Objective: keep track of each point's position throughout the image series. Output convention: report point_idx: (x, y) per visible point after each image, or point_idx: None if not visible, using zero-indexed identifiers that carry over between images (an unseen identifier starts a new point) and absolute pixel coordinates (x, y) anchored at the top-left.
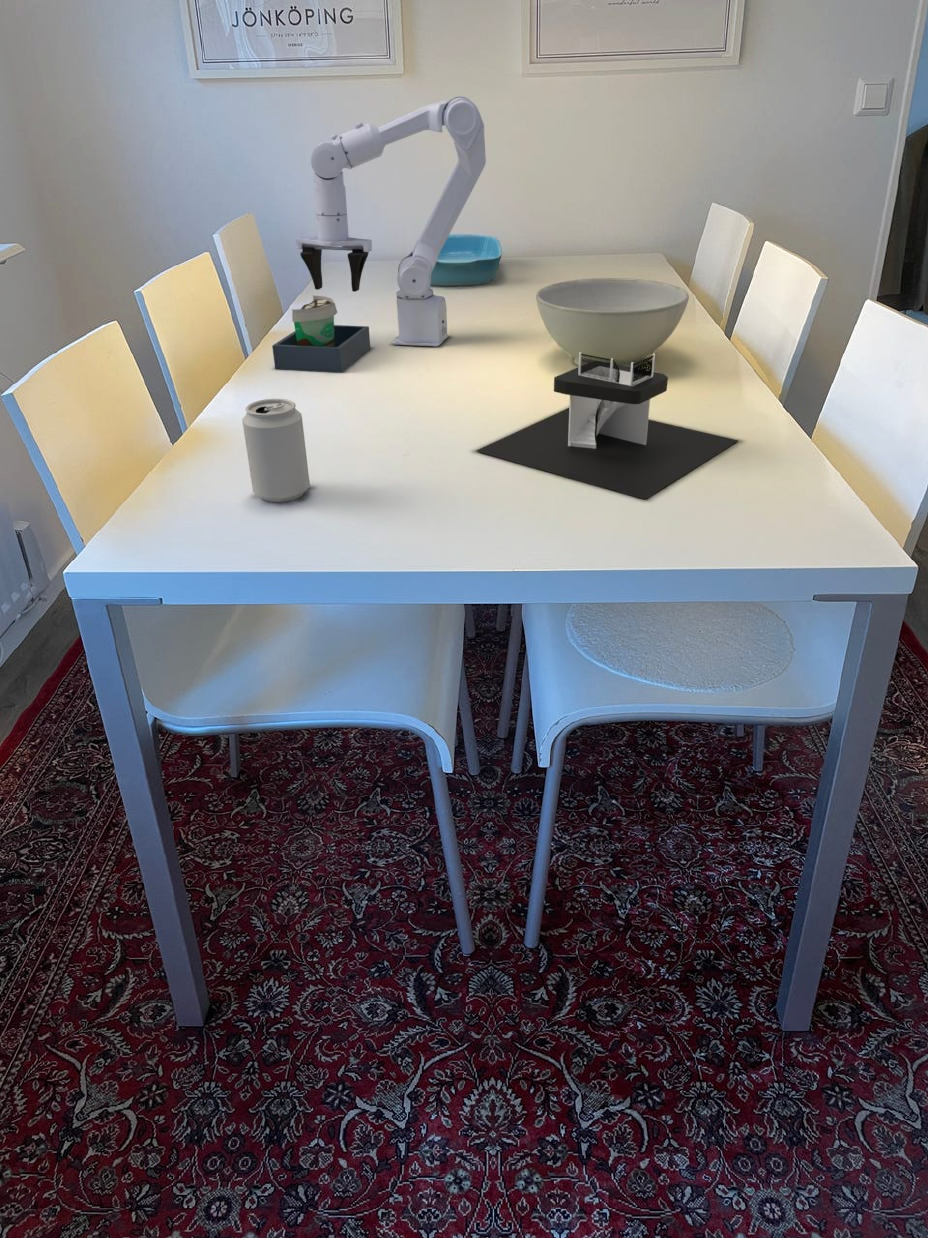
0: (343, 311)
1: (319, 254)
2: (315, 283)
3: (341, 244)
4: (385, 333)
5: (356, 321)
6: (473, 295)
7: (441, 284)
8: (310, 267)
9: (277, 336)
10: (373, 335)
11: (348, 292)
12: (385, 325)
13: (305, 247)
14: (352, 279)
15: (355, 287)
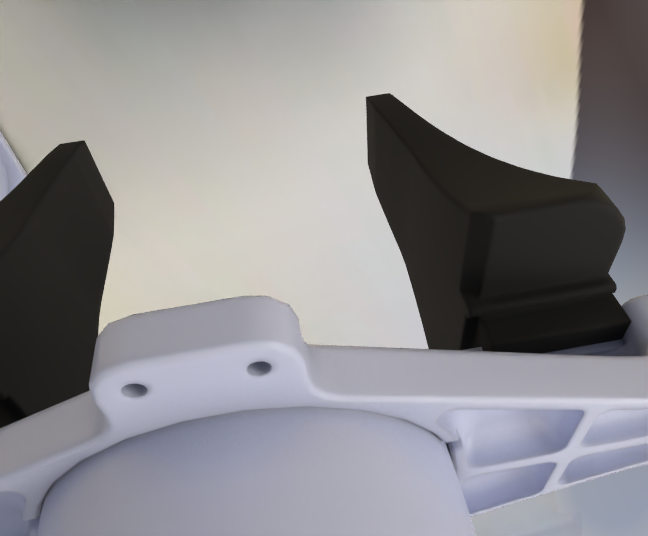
0: (423, 342)
1: (438, 346)
2: (392, 107)
3: (10, 432)
4: (141, 206)
5: (335, 284)
6: None
7: None
8: (458, 159)
9: (574, 21)
10: (168, 168)
11: None
12: (211, 281)
13: (589, 324)
14: (42, 184)
15: (46, 159)
